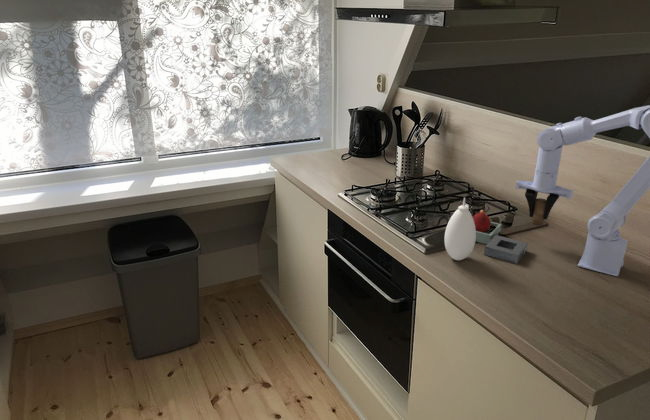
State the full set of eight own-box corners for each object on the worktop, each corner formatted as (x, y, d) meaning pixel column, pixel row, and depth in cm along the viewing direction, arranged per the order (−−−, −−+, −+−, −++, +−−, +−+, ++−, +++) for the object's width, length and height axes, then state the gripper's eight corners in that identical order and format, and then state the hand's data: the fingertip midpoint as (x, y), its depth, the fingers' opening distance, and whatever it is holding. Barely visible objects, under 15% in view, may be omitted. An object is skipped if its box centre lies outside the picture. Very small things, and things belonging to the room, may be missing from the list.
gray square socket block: (526, 251, 143) (527, 243, 142) (517, 263, 136) (518, 255, 135) (494, 242, 148) (495, 234, 147) (484, 254, 141) (485, 246, 140)
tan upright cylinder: (544, 222, 145) (549, 199, 142) (541, 226, 142) (546, 203, 140) (533, 220, 146) (537, 197, 144) (530, 223, 144) (534, 200, 141)
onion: (489, 240, 149) (493, 215, 146) (469, 238, 151) (472, 213, 147) (488, 231, 155) (491, 207, 152) (468, 230, 156) (471, 205, 153)
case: (500, 233, 154) (501, 224, 153) (489, 245, 146) (490, 235, 145) (469, 225, 159) (470, 216, 158) (457, 236, 152) (458, 227, 150)
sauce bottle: (459, 250, 144) (466, 190, 137) (478, 262, 137) (486, 199, 130) (437, 255, 140) (443, 194, 133) (455, 268, 134) (462, 204, 127)
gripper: (578, 171, 137) (569, 217, 143) (523, 162, 145) (516, 206, 150) (573, 178, 132) (563, 226, 137) (516, 168, 140) (509, 214, 145)
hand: (538, 216), depth 144 cm, fingers closed on tan upright cylinder, 3 cm apart
